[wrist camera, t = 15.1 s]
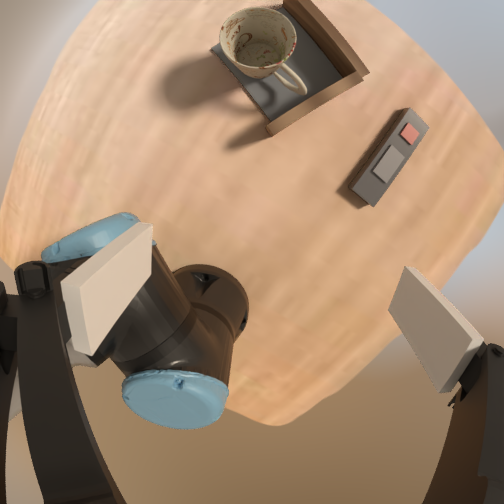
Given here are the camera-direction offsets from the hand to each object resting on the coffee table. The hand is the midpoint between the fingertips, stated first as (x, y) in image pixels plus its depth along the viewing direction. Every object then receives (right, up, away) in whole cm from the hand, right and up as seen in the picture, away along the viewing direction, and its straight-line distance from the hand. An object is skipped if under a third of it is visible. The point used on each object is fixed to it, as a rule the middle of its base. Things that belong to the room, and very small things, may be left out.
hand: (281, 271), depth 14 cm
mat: (+2, +28, +20) cm, 34 cm away
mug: (+1, +26, +20) cm, 33 cm away
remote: (+19, +15, +24) cm, 34 cm away
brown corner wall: (+3, +27, +20) cm, 34 cm away
